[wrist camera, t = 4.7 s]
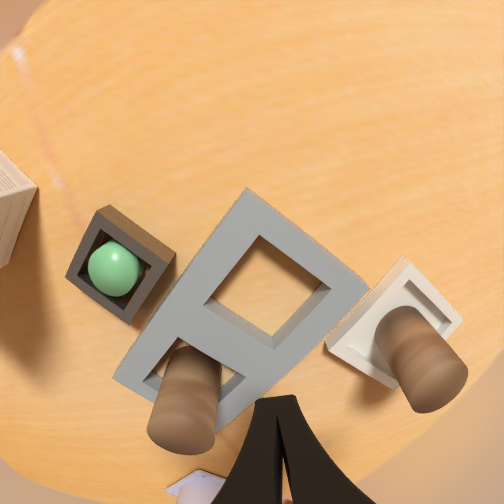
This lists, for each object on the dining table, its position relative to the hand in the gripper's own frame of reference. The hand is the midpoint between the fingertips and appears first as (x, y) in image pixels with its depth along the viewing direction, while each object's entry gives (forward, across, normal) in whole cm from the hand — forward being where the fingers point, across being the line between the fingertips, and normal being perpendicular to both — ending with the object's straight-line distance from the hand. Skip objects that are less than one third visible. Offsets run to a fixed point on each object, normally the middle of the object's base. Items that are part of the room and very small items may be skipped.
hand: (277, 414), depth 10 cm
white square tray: (+9, -9, +4) cm, 14 cm away
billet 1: (+9, +6, +5) cm, 12 cm away
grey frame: (+9, +3, +2) cm, 10 cm away
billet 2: (+9, -9, +4) cm, 13 cm away
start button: (+10, +8, -4) cm, 14 cm away
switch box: (+9, +8, -4) cm, 13 cm away
